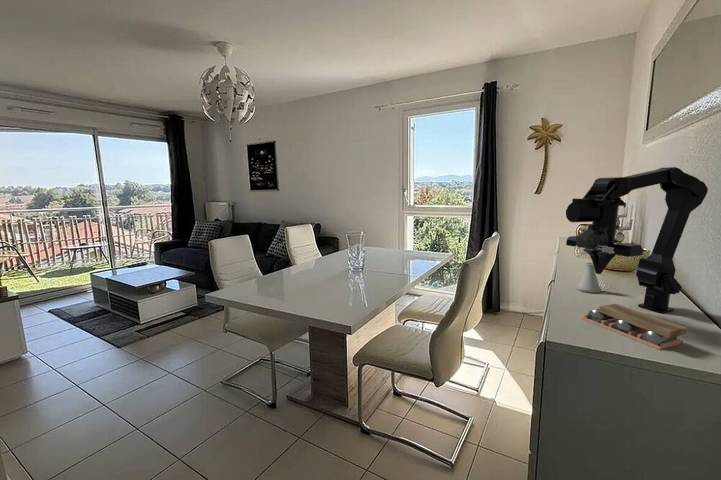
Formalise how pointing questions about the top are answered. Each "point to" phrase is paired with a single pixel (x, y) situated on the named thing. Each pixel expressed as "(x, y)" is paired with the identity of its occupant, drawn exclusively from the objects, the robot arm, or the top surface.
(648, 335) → the roller
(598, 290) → the flask
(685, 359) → the top surface
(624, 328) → the middle roller
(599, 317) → the rear roller
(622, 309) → the walnut board
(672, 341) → the roller track
